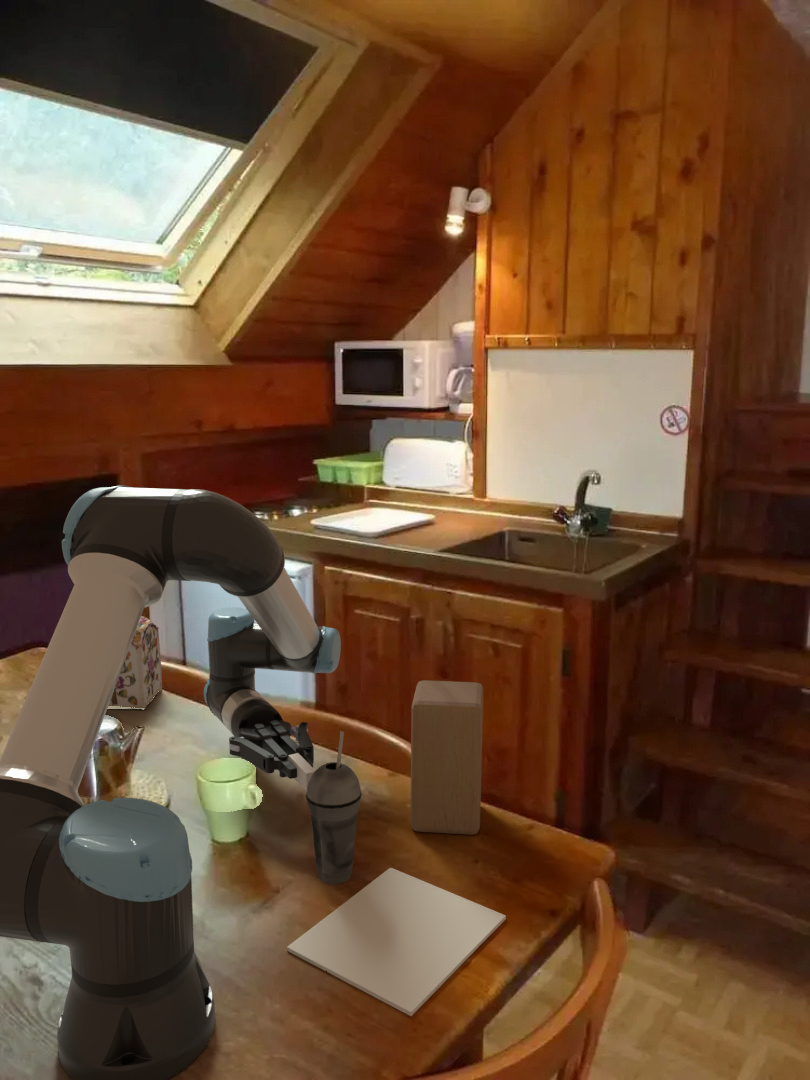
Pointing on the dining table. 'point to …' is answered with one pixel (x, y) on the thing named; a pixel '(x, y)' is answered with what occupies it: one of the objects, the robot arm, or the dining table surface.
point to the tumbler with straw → (334, 818)
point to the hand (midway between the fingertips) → (311, 781)
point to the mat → (398, 939)
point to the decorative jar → (140, 669)
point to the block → (446, 757)
